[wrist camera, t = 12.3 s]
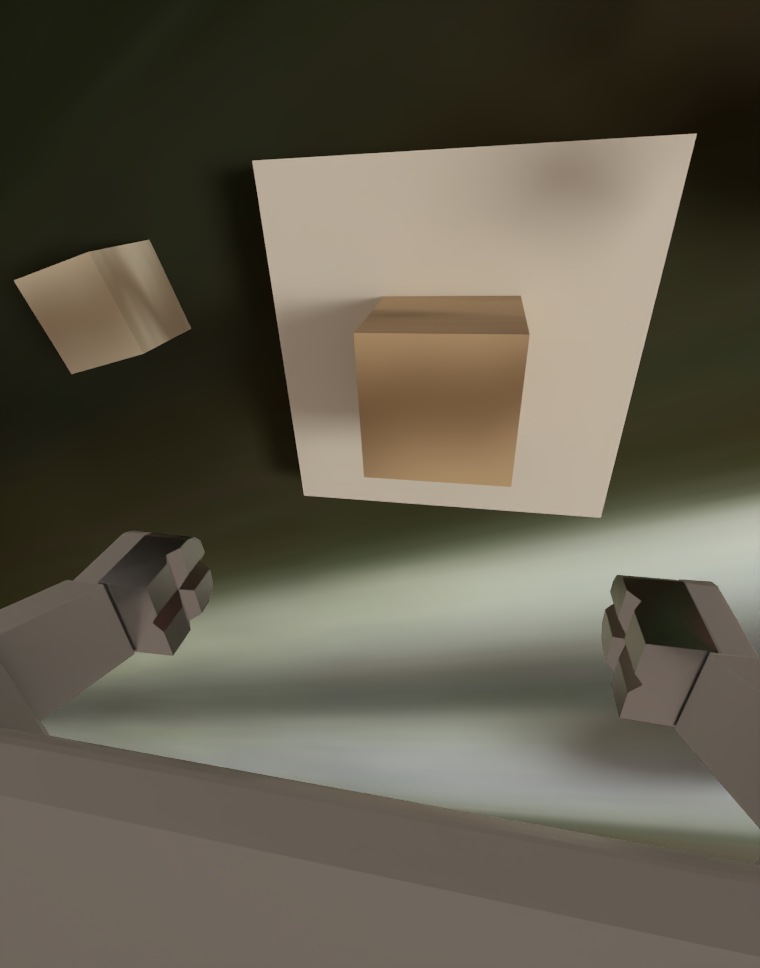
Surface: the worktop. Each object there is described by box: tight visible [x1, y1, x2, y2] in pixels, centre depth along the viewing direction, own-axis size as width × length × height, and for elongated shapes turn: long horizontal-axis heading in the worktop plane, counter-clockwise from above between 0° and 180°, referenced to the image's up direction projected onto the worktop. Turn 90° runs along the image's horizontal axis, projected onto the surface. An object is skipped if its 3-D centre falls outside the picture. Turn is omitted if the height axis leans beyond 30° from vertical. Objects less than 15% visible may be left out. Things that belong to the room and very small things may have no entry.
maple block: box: [14, 240, 191, 374], centre depth 21 cm, size 4×4×4 cm
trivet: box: [252, 134, 697, 518], centre depth 20 cm, size 14×14×2 cm
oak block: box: [353, 296, 530, 487], centre depth 17 cm, size 5×5×5 cm
